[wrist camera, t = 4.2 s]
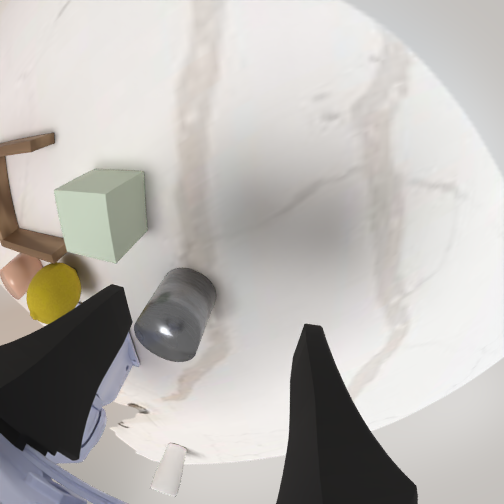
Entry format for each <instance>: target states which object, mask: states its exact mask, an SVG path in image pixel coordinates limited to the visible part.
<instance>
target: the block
mask: <svg viewBox="0 0 504 504" xmlns="http://www.w3.org/2000/svg"><path fill="white" fill-rule="evenodd" d="M54 194H55V200H56V205H57V211H58V216H59V220H60V225H61V229H62V234H63V238H64V242H65V246H66V250H67V252H71V253H74V254H78V255H82V256H86V257H90V258H94V259H99V260H103V261H107V262H111V263H115V264H116V263H117V262H118V261H119V260H120V259H121V258H122V257H123V256H124V255H125V254H126V253H127V251H128V250H129V249H130V248H131V247H132V246H133V245H134V244H135V243H136V242H137V241H138V240H139V239H140V238H141V237H142V236H143V235H144V234H145V233H146V232H147V231H148V229H147V217H146V203H145V184H144V171H133V170H110V169H94V170H91V171H89V172H87V173H85V174H83V175H81V176H79V177H77V178H75V179H74V180H72V181H70V182H68V183H66V184H64V185H62V186H60V187H59V188H57V189H55V190H54Z"/></svg>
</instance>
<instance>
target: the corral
mask: <svg viewBox="0 0 504 504" xmlns="http://www.w3.org/2000/svg"><path fill="white" fill-rule="evenodd" d="M54 143H55V141H54V133H49V134H43V135H37V136H32V137H27V138H22V139H17V140H13V141H8V142H4V143H0V241H1V245H2V246H3V247H6V248H9V249H12V250H15V251H17V252H20V253H23V254H26V255H29V256H32V257H35V258H38V259H41V260H44V261H47V262H50V263H53V264H55V263H56V262H57V261H58V260H59V259H60V258H61V257H62V256H63V255H64V254H66V253H67V250H66V246H65V242H64V238H59V237H55V236H50V235H46V234H42V233H37V232H33V231H29V230H24V229H20V228H19V227H18V224H17V220H16V216H15V212H14V207H13V203H12V198H11V193H10V188H9V182H8V176H7V169H6V161H5V156H7V155H14V154H21V153H28V152H33V151H35V150H38V149H40V148H43V147H46V146H48V145H51V144H54Z"/></svg>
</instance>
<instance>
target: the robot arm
mask: <svg viewBox="0 0 504 504" xmlns="http://www.w3.org/2000/svg"><path fill="white" fill-rule="evenodd" d="M131 325H132V319H131V315H130V311H129V308H128V304H127V300H126V296H125V292H124V288H123V287H120V286H116V285H113V284H111V285H110V286H108V287H106V288H104V289H103V290H101V291H100V292H98V293H97V294H95V295H94V296H92V297H91V298H89V299H88V300H86V301H85V302H83V303H81V304H80V303H78V304H77V305H76V307H75V308H74V309H72V310H71V311H69V312H68V313H66V314H65V315H63V316H61V317H60V318H58V319H56V320H55V321H53V322H52V323H50V324H48V325H46V326H45V327H43V328H41V329H39V330H37V331H35V332H33V333H31V334H29V335H27V336H25V337H22V338H20V339H17V340H15V341H13V342H10V343H7V344H4V345H1V346H0V504H87V501H86V500H88V501H90V502H91V503H93V504H128V503H126V502H123V501H121V500H119V499H117V498H114V497H112V496H110V495H108V494H106V493H104V492H102V491H100V490H98V489H97V488H95V487H93V486H91V485H89V484H87V483H86V482H84V481H82V480H80V479H79V478H77V477H75V476H74V475H72V474H70V473H69V472H67V471H66V470H64V469H62V468H61V467H59V466H58V465H56V464H58V463H80V462H83V460H85V459H86V457H87V455H88V454H89V452H90V450H91V449H92V448H93V447H94V446H95V445H96V444H97V443H98V441H99V439H100V438H101V436H102V434H103V432H104V429H105V426H106V421H107V418H106V413H105V410H104V409H103V408H102V406H104V405H107V404H109V403H111V402H112V401H113V400H114V399H115V398H116V397H117V395H118V393H119V391H120V389H121V387H122V385H123V383H124V381H125V379H126V377H127V375H128V374H129V372H130V370H131V368H132V366H133V365H134V366H137V367H139V365H140V363H139V360H138V357H137V354H136V352H135V349H134V346H133V343H132V340H131V337H130V334H129V329H130V327H131ZM51 478H53V479H54V480H56V481H57V482H58V483H60V484H61V485H60V484H57V483H55V482H53V481H52V479H51ZM62 485H63V486H62ZM64 486H65V487H64ZM83 498H84V499H86V500H84V499H83ZM417 498H418V494H417V487H416V485H415V484H414V483H413V482H412V481H411V480H410V479H409V478H408V477H407V476H406V475H405V474H404V473H403V472H402V471H401V470H400V469H399V468H398V467H397V465H396V464H395V463H394V462H393V461H392V459H391V458H390V457H389V456H388V455H387V453H386V452H385V451H384V449H383V448H382V447H381V445H380V444H379V443H378V441H377V440H376V438H375V437H374V436H373V434H372V433H371V431H370V430H369V428H368V426H367V425H366V423H365V422H364V420H363V418H362V417H361V415H360V413H359V412H358V410H357V408H356V406H355V404H354V403H353V401H352V399H351V397H350V395H349V393H348V391H347V389H346V387H345V384H344V382H343V380H342V378H341V376H340V373H339V371H338V369H337V366H336V364H335V361H334V359H333V356H332V354H331V351H330V349H329V346H328V343H327V340H326V337H325V334H324V331H323V328H322V327H321V326H318V325H311V324H304V327H303V330H302V333H301V336H300V339H299V341H298V344H297V347H296V350H295V353H294V356H293V362H292V370H291V378H290V422H289V439H288V446H287V453H286V459H285V465H284V470H283V476H282V481H281V485H280V490H279V494H278V499H277V503H276V504H418V503H417V501H418V499H417Z"/></svg>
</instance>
